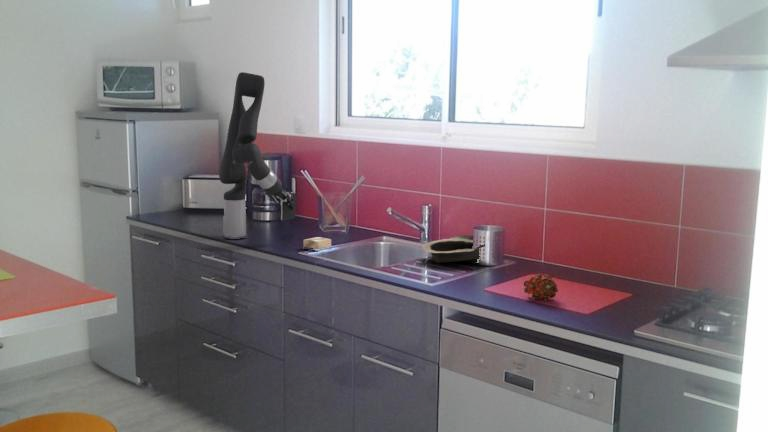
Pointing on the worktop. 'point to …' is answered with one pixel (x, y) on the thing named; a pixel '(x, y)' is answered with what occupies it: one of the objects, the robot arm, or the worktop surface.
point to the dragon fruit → (541, 287)
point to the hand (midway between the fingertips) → (289, 207)
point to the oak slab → (317, 243)
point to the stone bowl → (453, 249)
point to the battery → (287, 209)
